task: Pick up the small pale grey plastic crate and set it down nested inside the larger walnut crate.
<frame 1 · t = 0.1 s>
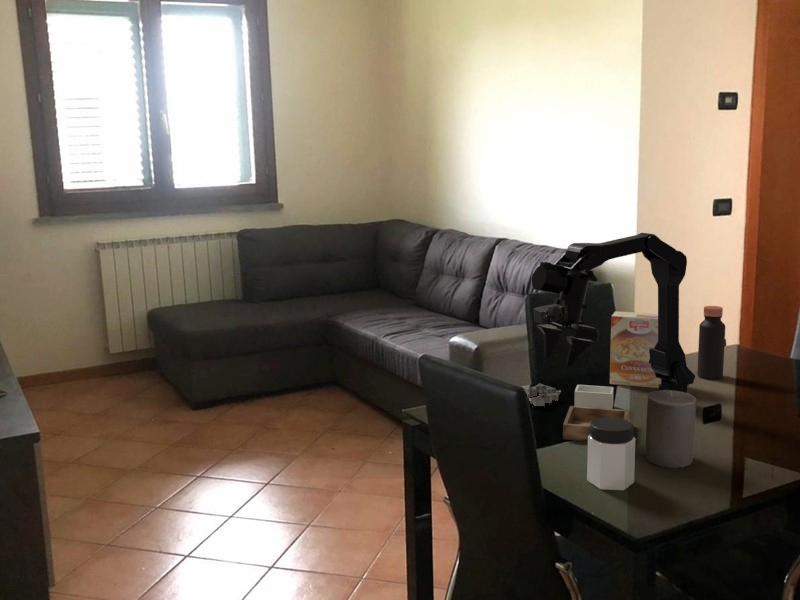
hand: (557, 361, 187), 15 cm above the table, tool pointing down, fingers open, 9 cm apart
coffeecake box: (638, 383, 220), on the table
grey crate: (593, 408, 200), on the table
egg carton: (539, 403, 207), on the table
bottle: (709, 377, 225), on the table
pillar candle: (669, 460, 167), on the table
jar: (610, 483, 156), on the table
walnut crate: (596, 431, 184), on the table
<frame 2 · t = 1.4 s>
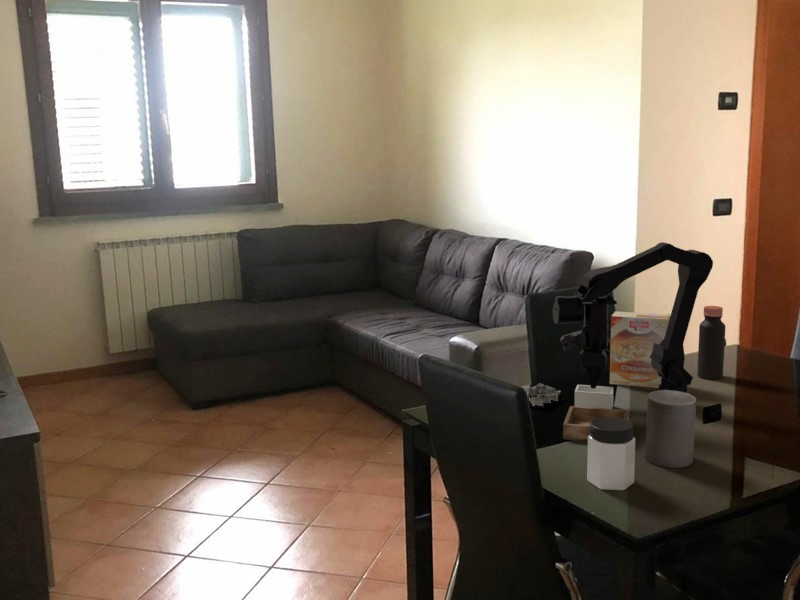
hand: (594, 382, 199), 7 cm above the table, tool pointing down, fingers open, 9 cm apart
nothing on the table moved.
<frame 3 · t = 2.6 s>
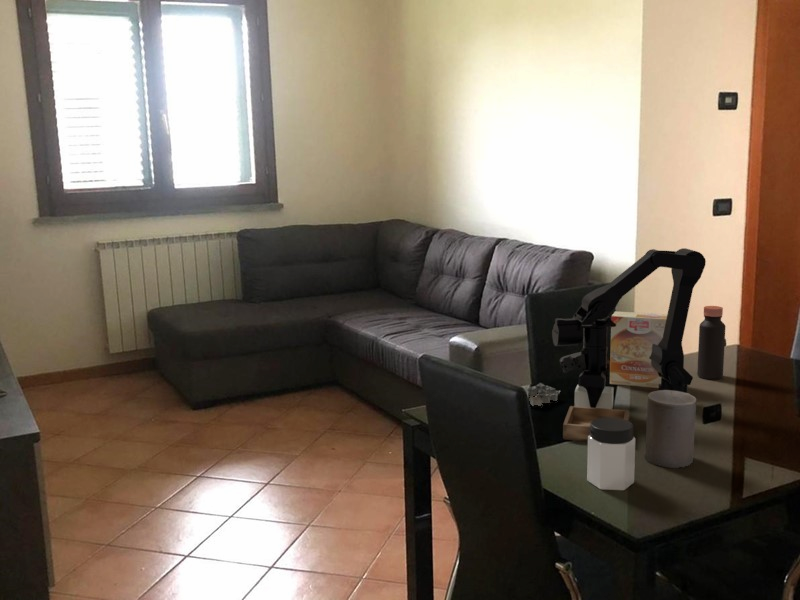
hand: (594, 404, 200), 1 cm above the table, tool pointing down, fingers closed on grey crate, 6 cm apart
grey crate: (593, 408, 200), on the table, touching gripper
everything else where it was.
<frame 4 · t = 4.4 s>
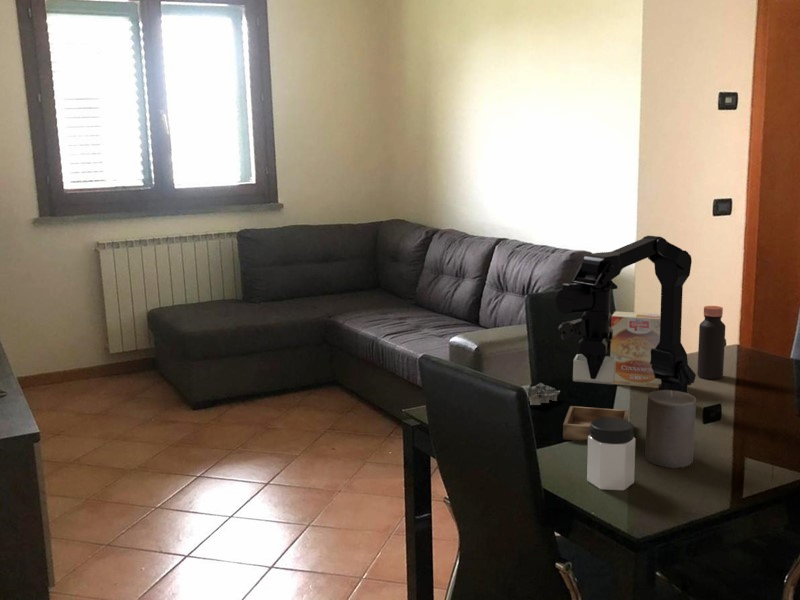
hand: (594, 375, 185), 12 cm above the table, tool pointing down, fingers closed on grey crate, 6 cm apart
grey crate: (594, 379, 185), point 11 cm above the table, touching gripper
everything else where it was.
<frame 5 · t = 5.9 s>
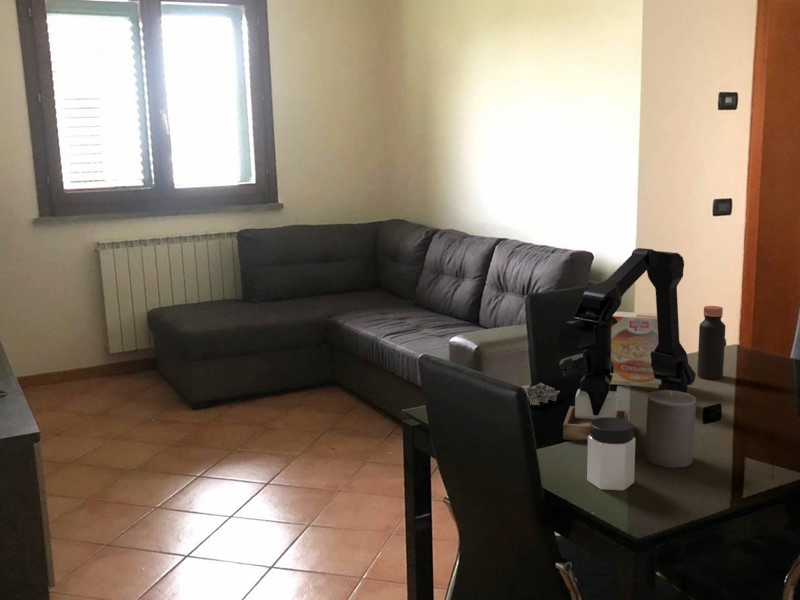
hand: (596, 410, 183), 5 cm above the table, tool pointing down, fingers closed on grey crate, 6 cm apart
grey crate: (596, 414, 183), point 4 cm above the table, touching gripper
everything else where it was.
when the fingers open (4 cm above the table, at t = 6.6 s): grey crate drops 2 cm, resting on walnut crate.
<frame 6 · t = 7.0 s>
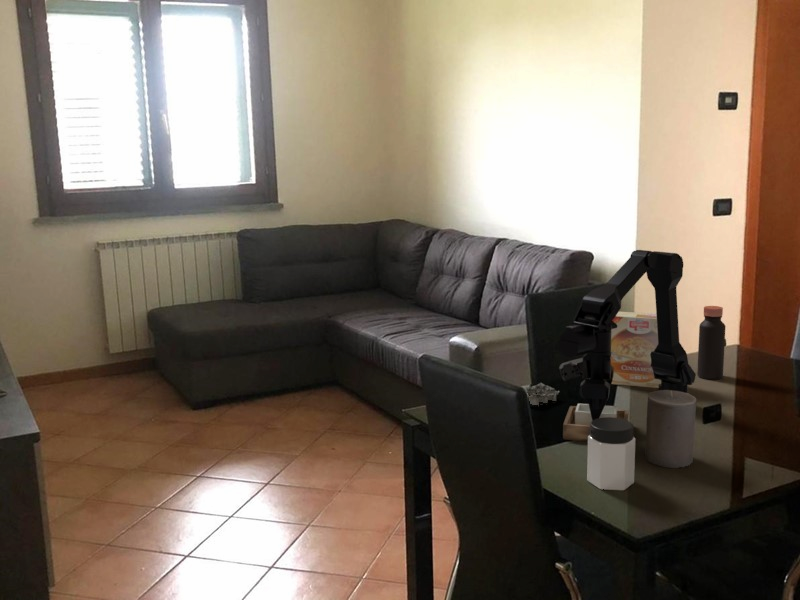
hand: (596, 415, 183), 4 cm above the table, tool pointing down, fingers open, 9 cm apart
grey crate: (595, 429, 184), resting on walnut crate
everything else where it was.
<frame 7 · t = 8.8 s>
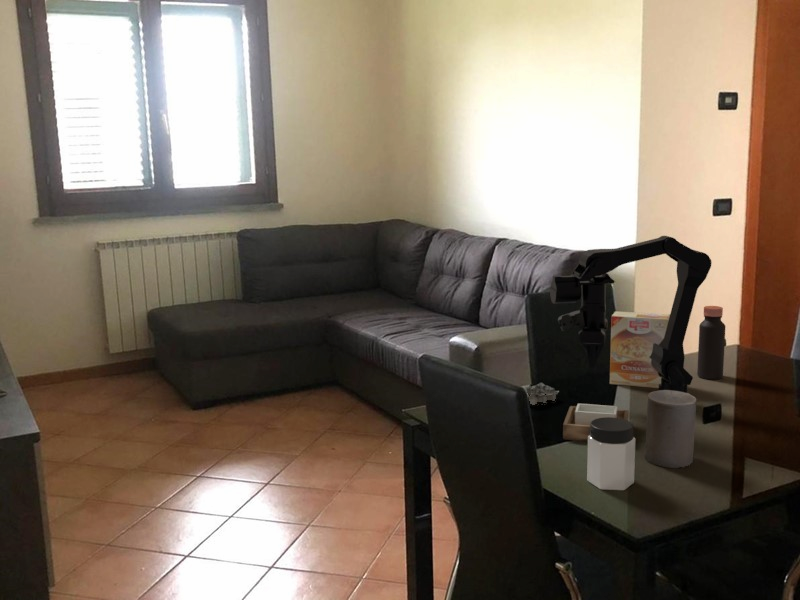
hand: (592, 363, 198), 12 cm above the table, tool pointing down, fingers open, 9 cm apart
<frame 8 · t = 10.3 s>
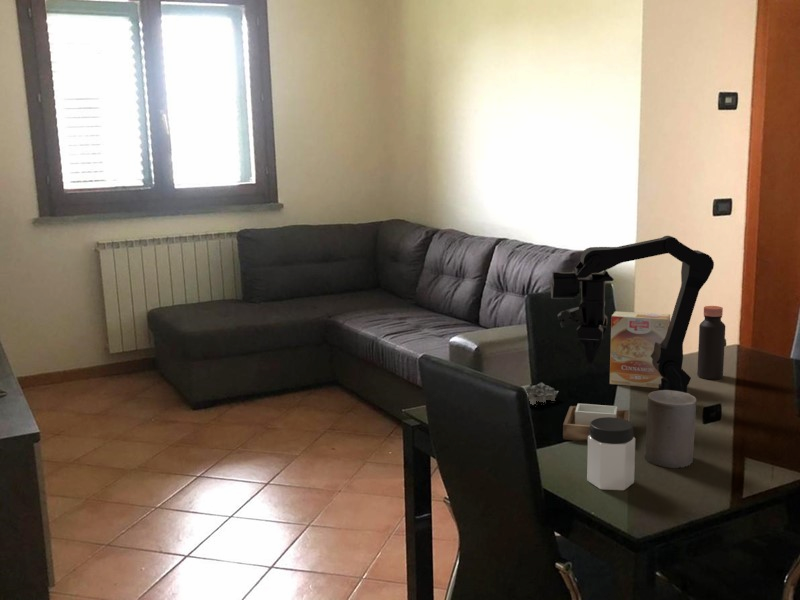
hand: (591, 358, 201), 12 cm above the table, tool pointing down, fingers open, 9 cm apart
at the end: grey crate 0.1 cm off-centre on the walnut crate, point 0.5 cm above the walnut crate's base; grey crate tilted 0°; the gripper is holding nothing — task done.
